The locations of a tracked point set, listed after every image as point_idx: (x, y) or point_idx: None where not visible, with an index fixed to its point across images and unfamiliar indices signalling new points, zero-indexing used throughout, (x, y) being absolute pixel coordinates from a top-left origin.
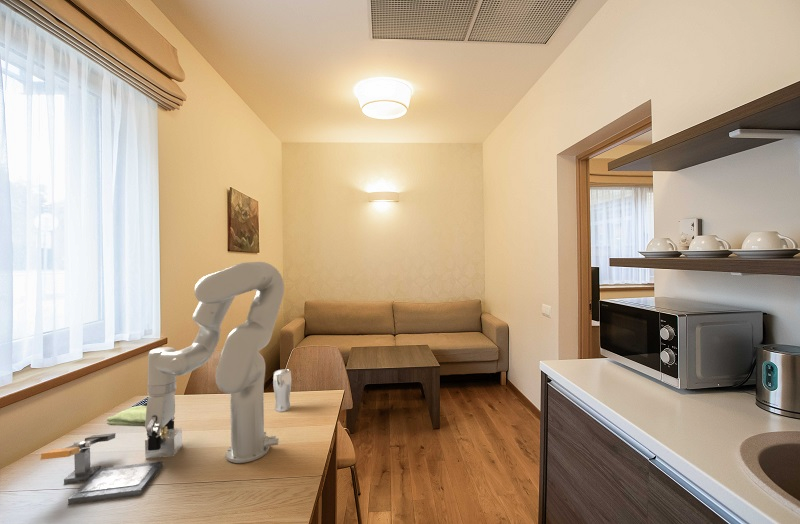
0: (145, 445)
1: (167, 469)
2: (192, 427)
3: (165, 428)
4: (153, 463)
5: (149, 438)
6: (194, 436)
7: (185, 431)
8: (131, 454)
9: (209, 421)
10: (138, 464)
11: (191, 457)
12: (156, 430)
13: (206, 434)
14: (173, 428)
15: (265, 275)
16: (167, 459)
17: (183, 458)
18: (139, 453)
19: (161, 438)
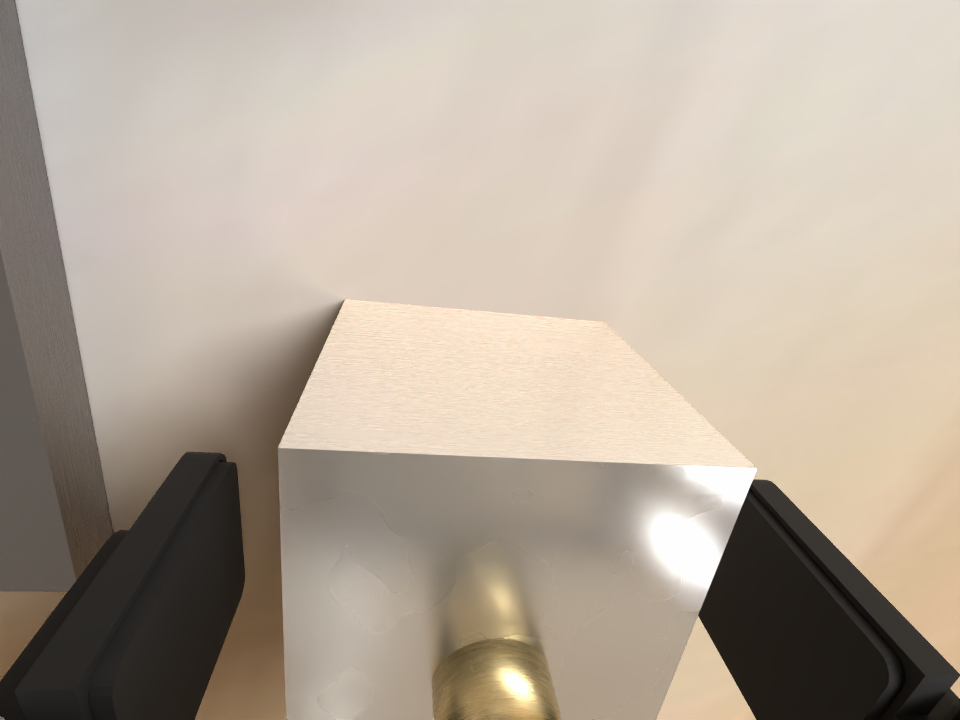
0: (306, 388)
1: (44, 598)
2: (930, 552)
3: None
4: (23, 514)
5: (53, 677)
6: (700, 619)
7: (877, 517)
8: (563, 34)
9: (956, 647)
10: (4, 332)
11: (260, 705)
12: (734, 510)
13: (684, 692)
14: (734, 665)
15: None
16: (269, 537)
17: (256, 657)
18: (546, 158)
19: (285, 703)
